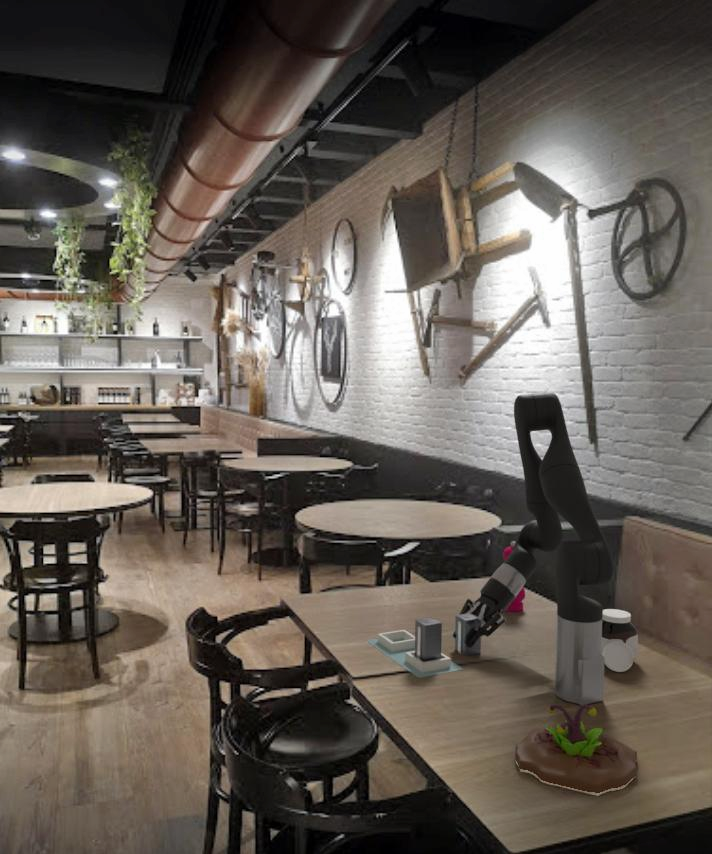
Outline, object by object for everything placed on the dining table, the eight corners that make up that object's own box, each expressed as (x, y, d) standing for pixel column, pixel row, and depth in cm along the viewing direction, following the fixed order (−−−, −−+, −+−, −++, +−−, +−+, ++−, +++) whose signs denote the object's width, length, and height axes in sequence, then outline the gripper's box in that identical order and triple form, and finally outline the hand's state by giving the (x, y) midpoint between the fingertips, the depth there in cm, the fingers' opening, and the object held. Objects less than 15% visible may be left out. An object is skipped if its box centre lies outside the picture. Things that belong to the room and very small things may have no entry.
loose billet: (480, 659, 182) (481, 618, 181) (464, 662, 180) (464, 620, 179) (470, 652, 186) (470, 612, 185) (454, 655, 184) (454, 615, 183)
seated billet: (441, 665, 173) (441, 623, 173) (423, 669, 171) (424, 625, 171) (430, 659, 177) (431, 617, 177) (413, 662, 175) (414, 620, 175)
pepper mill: (523, 605, 225) (525, 538, 224) (526, 612, 218) (528, 544, 216) (498, 604, 226) (500, 538, 224) (500, 611, 218) (502, 543, 217)
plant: (613, 810, 119) (615, 741, 118) (500, 770, 131) (501, 707, 130) (650, 760, 135) (652, 699, 134) (546, 728, 147) (548, 672, 146)
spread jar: (619, 652, 187) (621, 606, 186) (653, 669, 177) (655, 620, 176) (580, 659, 182) (581, 611, 182) (612, 676, 172) (614, 626, 171)
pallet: (464, 675, 172) (464, 660, 171) (418, 684, 166) (418, 668, 166) (407, 639, 195) (407, 625, 195) (365, 646, 190) (365, 632, 189)
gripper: (477, 570, 191) (436, 623, 187) (512, 584, 178) (468, 642, 174) (494, 588, 194) (453, 641, 189) (530, 603, 181) (487, 661, 176)
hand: (461, 641), depth 182 cm, fingers closed on loose billet, 4 cm apart
